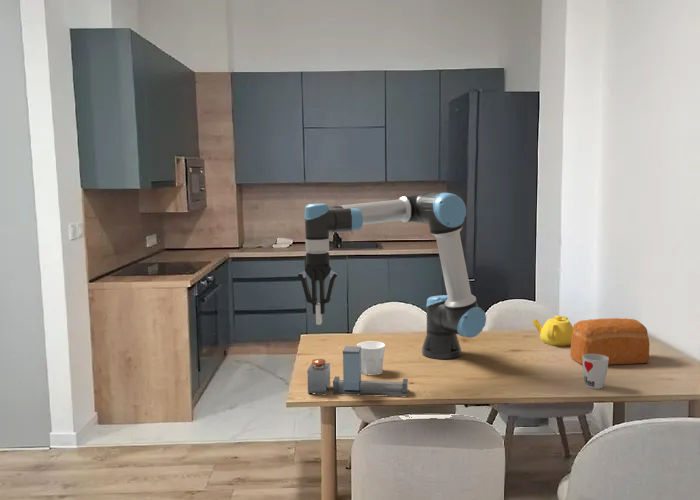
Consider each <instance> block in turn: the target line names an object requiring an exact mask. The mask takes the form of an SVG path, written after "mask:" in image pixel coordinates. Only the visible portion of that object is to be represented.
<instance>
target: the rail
mask: <svg viewBox="0 0 700 500" xmlns="http://www.w3.org/2000/svg"><path fill="white" fill-rule="evenodd" d="M408 382H409V379H408V378H403V379H402V381H386V380H385V381H384V380H381V381H380V380H378V381H377V380H361V381H360V382H359V390H344V383H343V379H340V376H334V379H333V380H332V393H331V394H332V395H337V394H359V395H358V396H364V395H387V396H386V397H392V396H405V397H404V398H407V397H408V391H409V385H408Z"/></svg>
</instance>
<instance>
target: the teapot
mask: <svg viewBox="0 0 700 500" xmlns="http://www.w3.org/2000/svg"><path fill="white" fill-rule="evenodd" d="M531 323H532V324H533V326H534V327H535V328H536V330H537V332H539V338H540V339H541V341H542V342H543V343H544V344H546V343H547V345H549V344H550V345H551V346H555V345H557V346H559V347H566V345H568V346H571V336H572V332H573V328H574V325H572V323H571V322H570V320H569V318H568V316H561V315H554V317H553V318H548V319H547V320H546V321H545V323H544V324H543V326H542V325H541V324H540V321H539V320H538V319H537V318H536V319H534V320H532V321H531Z"/></svg>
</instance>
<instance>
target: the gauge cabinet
mask: <svg viewBox="0 0 700 500" xmlns="http://www.w3.org/2000/svg"><path fill="white" fill-rule="evenodd" d="M325 363H326V364H325V365H323V368H314V365H312V363H311V364H310V366H309V367H308V368H307V394H308V393H315V394H314V395H323V394H326V393H327V394H328V392H327V391H329V390H330V388H329V387H331V363H330V362H325ZM328 389H329V390H328ZM327 394H326V395H327Z"/></svg>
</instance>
